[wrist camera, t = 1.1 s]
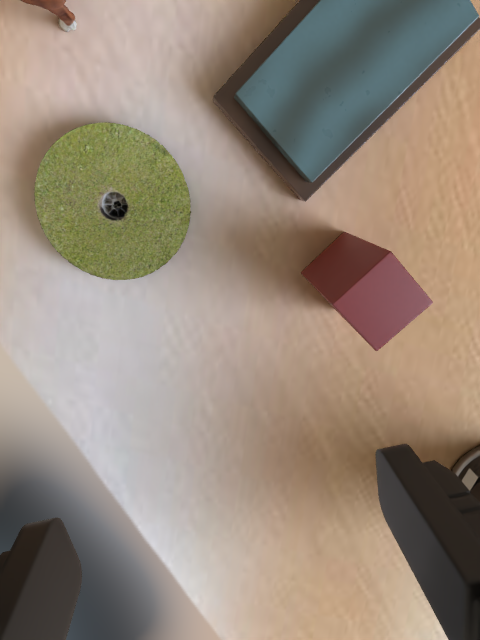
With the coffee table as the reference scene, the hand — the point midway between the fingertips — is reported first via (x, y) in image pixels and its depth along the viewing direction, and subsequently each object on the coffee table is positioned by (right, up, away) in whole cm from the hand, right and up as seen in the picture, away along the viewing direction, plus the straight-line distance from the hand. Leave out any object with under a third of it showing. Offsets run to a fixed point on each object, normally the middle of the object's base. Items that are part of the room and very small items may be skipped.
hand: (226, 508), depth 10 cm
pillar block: (+9, +9, +25) cm, 28 cm away
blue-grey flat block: (+8, +23, +20) cm, 32 cm away
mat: (-9, +14, +22) cm, 28 cm away
